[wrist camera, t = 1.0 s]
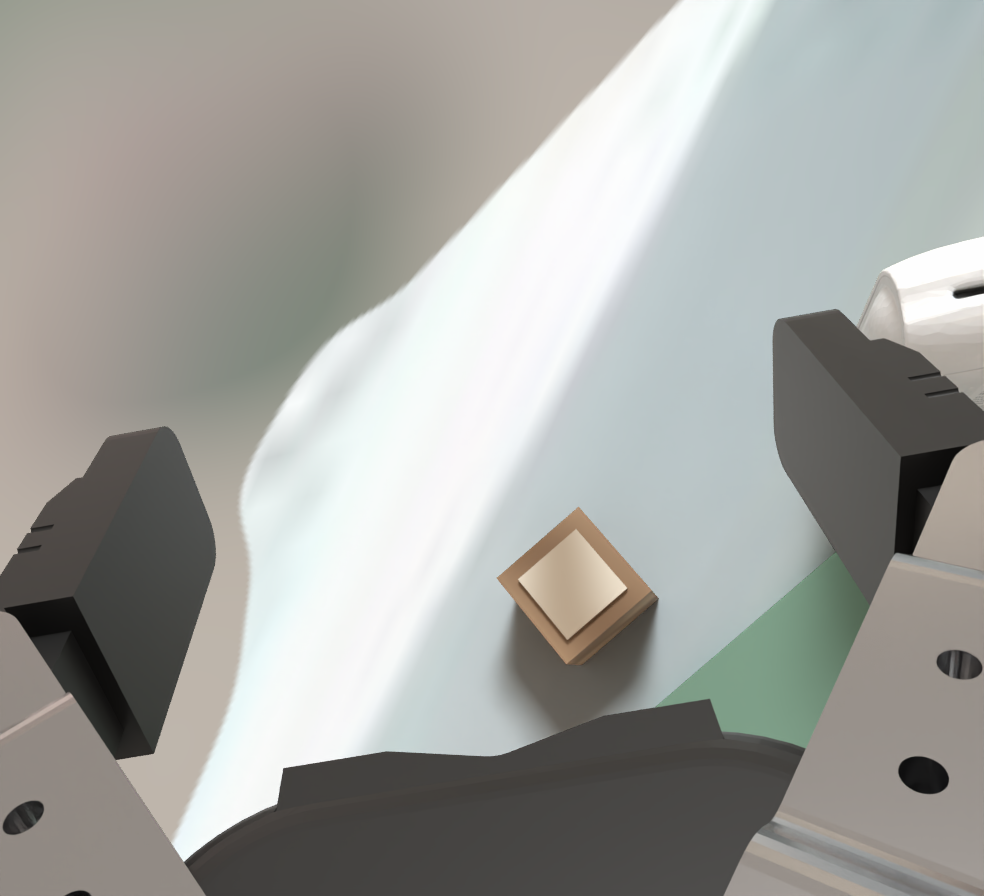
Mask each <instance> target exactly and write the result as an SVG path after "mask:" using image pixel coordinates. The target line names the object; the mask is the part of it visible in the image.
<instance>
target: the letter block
mask: <svg viewBox="0 0 984 896" xmlns="http://www.w3.org/2000/svg"><path fill="white" fill-rule="evenodd" d="M497 579H498V580H499V582H500V583H501V584H502V585H503V587H504V588H505V589H506V590H507V592H508V593H509V594H510V595H511V597H512V598H513V599H514V600H515V602H516V603H517V604H518V605H519V606H520V608H521V609H522V610H523V611H524V613H525V614H526V615H527V616H528V618H529V619H530V620H531V621H532V623H533V624H534V625H535V626H536V627H537V629H538V630H539V631H540V632H541V634H542V635H543V636H544V637H545V639H546V640H547V641H548V642H549V644H550V645H551V646H552V647H553V648H554V650H555V651H556V652H557V653H558V655H559V656H560V657H561V658H562V660H563V661H564V662H565V663H566V664H570V665H583V664H584V663H585V662H586V661H587V660H588V659H589V658H591V657H592V656H593V655H594V654H595V653H596V652H598V651H599V650H600V649H601V648H602V647H603V646H605V645H606V644H607V643H608V642H609V641H610V640H612V639H613V638H614V637H615V636H616V635H617V634H618V633H620V632H621V631H622V630H623V629H624V628H625V627H627V626H628V625H629V624H630V623H631V622H632V621H634V620H635V619H636V618H637V617H638V616H639V615H640V614H642V613H643V612H644V611H645V610H646V609H647V608H649V607H650V606H651V605H652V604H653V603H654V602H656V601H657V600H658V599H659V598H658V597H657V596H656V595H655V594H654V593H653V591H652V590H651V589H650V588H649V587H648V586H647V584H646V583H645V582H644V581H643V580H642V579H641V578H640V576H639V575H638V574H637V573H636V572H635V571H634V570H633V568H632V567H631V566H630V565H629V564H628V563H627V562H626V560H625V559H624V558H623V557H622V556H621V555H620V554H619V552H618V551H617V550H616V549H615V548H614V547H613V546H612V544H611V543H610V542H609V541H608V540H607V539H606V538H605V536H604V535H603V534H602V533H601V532H600V531H599V530H598V528H597V527H596V526H595V525H594V524H593V523H592V522H591V520H590V519H589V518H588V517H587V516H586V515H585V514H584V512H583V511H582V510H581V509H580V508H579V507H578V508H577V509H576V510H574V511H573V512H572V513H571V514H570V515H569V516H568V517H566V518H565V519H564V520H563V521H562V522H561V523H559V524H558V525H557V526H556V527H555V528H554V529H553V530H551V531H550V532H549V533H548V534H547V535H546V536H545V537H543V538H542V539H541V540H540V541H539V542H538V543H536V544H535V545H534V546H533V547H532V548H531V549H530V550H528V551H527V552H526V553H525V554H524V555H523V556H522V557H520V558H519V559H518V560H517V561H516V562H515V563H513V564H512V565H511V566H510V567H509V568H508V569H507V570H505V571H504V572H503V573H502V574H501V575H500V576H499V577H497Z"/></svg>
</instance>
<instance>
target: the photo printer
mask: <svg viewBox="0 0 984 896" xmlns="http://www.w3.org/2000/svg"><path fill="white" fill-rule="evenodd" d="M856 327H857V328H858V329H859V330H860V331H861V332H862V333H863V334H864V335H865V336H866V337H867V338H868V339H869V340H876V339H882V338H885V339H888V340H890V341H893V342H895V343H898V344H900V345H903V346H905V347H908V348H910V349H913V350H915V351H918V352H920V353H921V354H922V355H923V356H924V357H925V358H926V359H927V360H928V361H929V362H931V363H932V364H933V365H934V366H935V367H936V368H937V369H938V370H939V371H940V372H941V376H946V377H947V378H948V379H949V380H950V381H951V382H952V383H954V384H955V385H956V386H957V387H958V390H959V393H960V392H963V393H965V394H966V395H967V396H968V397H969V398H970V399H971V400H972V401H973V402H974V403H976V404H977V405H978V406H979V407H980V408H981V409H982V410H983V411H984V237H981V238H976V239H972V240H968V241H964V242H960V243H956V244H953V245H949V246H945V247H941V248H937V249H934V250H931V251H928V252H925V253H922V254H919V255H916V256H914V257H911V258H909V259H906V260H904V261H902V262H899V263H897V264H895V265H893V266H891V267H888V268H886V269H884V270H883V271H882V272H881V273H880V274H879V276H878V278H877V280H876V282H875V285H874V287H873V289H872V291H871V294H870V296H869V298H868V301H867V303H866V305H865V308H864V310H863V313H862V315H861V317H860V319H859V322H858V324H857V326H856Z"/></svg>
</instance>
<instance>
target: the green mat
mask: <svg viewBox="0 0 984 896" xmlns="http://www.w3.org/2000/svg"><path fill="white" fill-rule="evenodd" d="M869 607H870V605H869V604H868V602H867V600H866V599H865V597H864V596H863V594H862V592H861V591H860V589H859V588H858V586H857V585H856V583H855V581H854V580H853V578H852V577H851V575H850V573H849V572H848V570H847V569H846V567H845V565H844V564H843V562H842V561H841V559H840V558H839V556H838V554H837V553H836V552H835V553H834V554H833V555H832V556H831V557H829V558H828V559H827V560H826V561H825V562H824V563H823V564H821V565H820V566H819V567H818V568H817V569H816V570H814V571H813V572H812V573H811V574H810V575H809V576H807V577H806V578H805V579H804V580H803V581H802V582H800V583H799V584H798V585H797V586H796V587H795V588H793V589H792V590H791V591H790V592H789V593H788V594H786V595H785V596H784V597H783V598H782V599H781V600H779V601H778V602H777V603H776V604H775V605H774V606H772V607H771V608H770V609H769V610H768V611H767V612H765V613H764V614H763V615H762V616H761V617H760V618H758V619H757V620H756V621H755V622H754V623H753V624H752V625H750V626H749V627H748V628H747V629H746V630H745V631H743V632H742V633H741V634H740V635H739V636H738V637H736V638H735V639H734V640H733V641H732V642H731V643H729V644H728V645H727V646H726V647H725V648H724V649H722V650H721V651H720V652H719V653H718V654H717V655H715V656H714V657H713V658H712V659H711V660H710V661H708V662H707V663H706V664H705V665H704V666H703V667H701V668H700V669H699V670H698V671H697V672H696V673H694V674H693V675H692V676H691V677H690V678H689V679H687V680H686V681H685V682H684V683H683V684H682V685H680V686H679V687H678V688H677V689H676V690H675V691H674V692H672V693H671V694H670V695H669V696H668V697H667V698H665V699H664V700H663V701H662V702H661V703H660V704H658V705H657V706H656V707H662V706H668V705H674V704H680V703H686V702H692V701H698V700H704V699H710V700H711V703H712V706H713V709H714V712H715V714H716V717H717V720H718V723H719V726H720V729H721V731H723V732H739V733H745V734H752V735H758V736H764V737H768V738H772V739H776V740H780V741H784V742H788V743H792V744H795V745H798V746H800V747H803V748H806V747H807V745H808V743H809V741H810V738H811V736H812V734H813V732H814V729H815V727H816V725H817V723H818V721H819V718H820V716H821V714H822V712H823V709H824V707H825V705H826V703H827V701H828V698H829V696H830V694H831V692H832V689H833V687H834V685H835V683H836V681H837V678H838V676H839V674H840V672H841V669H842V667H843V665H844V663H845V661H846V658H847V656H848V654H849V652H850V649H851V647H852V645H853V643H854V641H855V638H856V636H857V634H858V632H859V629H860V627H861V625H862V623H863V621H864V618H865V616H866V614H867V612H868V609H869ZM656 707H655V708H656Z"/></svg>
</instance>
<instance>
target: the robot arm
mask: <svg viewBox="0 0 984 896" xmlns="http://www.w3.org/2000/svg"><path fill="white" fill-rule="evenodd" d="M773 404H774V434H775V441H776V446H777V450H778V454H779V457H780V460H781V463H782V466H783V468H784V470H785V472H786V473H787V475H788V477H789V478H790V480H791V481H792V483H793V484H794V486H795V488H796V489H797V491H798V492H799V494H800V496H801V497H802V499H803V500H804V502H805V504H806V505H807V507H808V508H809V510H810V511H811V513H812V515H813V516H814V518H815V519H816V521H817V523H818V524H819V526H820V527H821V529H822V531H823V532H824V534H825V535H826V537H827V538H828V540H829V542H830V543H831V545H832V546H833V548H834V550H835V551H836V553H837V554H838V556H839V558H840V559H841V561H842V562H843V564H844V565H845V567H846V569H847V570H848V572H849V573H850V575H851V577H852V578H853V580H854V581H855V583H856V585H857V586H858V588H859V589H860V591H861V592H862V594H863V596H864V597H865V599H866V600H867V602H868V604H869V605H870V607H869V609H868V612H867V614H866V616H865V618H864V621H863V623H862V625H861V627H860V629H859V632H858V634H857V636H856V638H855V641H854V643H853V645H852V647H851V649H850V652H849V654H848V656H847V658H846V661H845V663H844V665H843V667H842V669H841V672H840V674H839V676H838V678H837V681H836V683H835V685H834V687H833V689H832V692H831V694H830V696H829V698H828V701H827V703H826V705H825V707H824V709H823V712H822V714H821V716H820V718H819V721H818V723H817V725H816V727H815V729H814V732H813V734H812V736H811V738H810V741H809V743H808V745H807V747H806V748H803V747H800V746H798V745H795V744H792V743H788V742H784V741H780V740H776V739H772V738H768V737H764V736H758V735H752V734H745V733H739V732H723V731H721V729H720V726H719V723H718V720H717V717H716V714H715V712H714V709H713V706H712V703H711V700H710V699H704V700H698V701H692V702H686V703H680V704H674V705H668V706H662V707H656V708H650V709H643V710H637V711H631V712H625V713H619V714H613V715H607V716H603V717H600V718H597V719H595V720H592V721H590V722H587V723H584V724H582V725H579V726H577V727H574V728H571V729H569V730H566V731H564V732H561V733H558V734H556V735H553V736H551V737H548V738H545V739H543V740H540V741H538V742H535V743H532V744H530V745H527V746H524V747H522V748H519V749H517V750H514V751H511V752H509V753H506V754H503V755H498V756H465V755H446V754H426V753H407V752H381V753H375V754H368V755H362V756H356V757H350V758H344V759H338V760H332V761H326V762H320V763H313V764H307V765H301V766H295V767H289V768H283V774H282V780H281V786H280V792H279V798H278V804H277V805H274V806H272V807H269V808H267V809H264V810H262V811H260V812H258V813H256V814H254V815H252V816H250V817H248V818H246V819H244V820H242V821H240V822H239V823H237V824H235V825H234V826H232V827H231V828H229V829H227V830H226V831H224V832H222V833H221V834H219V835H218V836H216V837H215V838H214V839H212V840H211V841H210V842H208V843H207V844H205V845H204V846H203V847H201V848H200V849H199V850H197V851H196V852H195V853H194V854H193V855H191V856H190V857H189V858H188V859H187V860H186V861H185V862H183V860H182V859H181V857H180V856H179V854H178V853H177V851H176V850H175V848H174V847H173V845H172V844H171V842H170V841H169V839H168V838H167V837H166V835H165V834H164V832H163V830H162V829H161V827H160V826H159V824H158V823H157V821H156V820H155V818H154V817H153V816H152V814H151V812H150V811H149V809H148V808H147V806H146V805H145V803H144V802H143V801H142V799H141V797H140V796H139V794H138V793H137V792H136V790H135V789H134V787H133V786H132V784H131V783H130V781H129V780H128V778H127V776H126V775H125V774H124V772H123V770H122V769H121V767H120V766H119V764H118V763H117V762H116V760H119V759H125V758H131V757H137V756H143V755H149V754H154V752H155V748H156V745H157V742H158V739H159V736H160V733H161V730H162V727H163V724H164V721H165V718H166V715H167V711H168V708H169V705H170V702H171V699H172V696H173V693H174V690H175V687H176V684H177V681H178V678H179V674H180V671H181V668H182V665H183V662H184V659H185V656H186V653H187V650H188V647H189V643H190V641H191V638H192V634H193V631H194V628H195V625H196V622H197V619H198V616H199V613H200V610H201V607H202V604H203V600H204V597H205V594H206V591H207V588H208V585H209V582H210V579H211V576H212V573H213V570H214V566H215V558H216V548H215V539H214V533H213V529H212V525H211V522H210V519H209V517H208V514H207V511H206V509H205V506H204V504H203V502H202V499H201V496H200V494H199V491H198V489H197V486H196V484H195V481H194V479H193V476H192V473H191V471H190V468H189V466H188V463H187V461H186V458H185V456H184V453H183V451H182V448H181V446H180V443H179V441H178V439H177V437H176V436H175V434H174V433H173V431H172V430H171V429H169V428H168V427H165V426H164V427H159V428H154V429H147V430H142V431H136V432H131V433H125V434H119V435H114V436H109V437H108V438H107V439H106V440H105V442H104V443H103V445H102V446H101V448H100V450H99V452H98V453H97V455H96V456H95V458H94V460H93V461H92V463H91V465H90V466H89V468H88V470H87V471H86V473H85V475H84V476H83V477H82V478H77V479H75V480H74V481H72V482H71V483H70V484H69V485H68V486H67V487H65V488H64V489H63V490H62V491H61V492H60V493H58V494H57V495H56V496H55V497H54V498H52V499H51V500H50V501H49V502H47V503H46V505H45V507H44V508H43V510H42V511H41V513H40V514H39V516H38V517H37V519H36V521H35V522H34V524H33V525H32V527H31V533H28V534H27V535H26V536H25V538H24V539H23V541H22V543H21V544H20V546H19V547H18V549H17V550H18V554H15V555H13V557H12V558H11V560H10V561H9V563H8V565H7V566H6V568H5V569H4V571H3V572H2V574H1V575H0V896H984V411H983V410H982V409H981V408H980V407H979V406H978V405H977V404H976V403H974V402H973V401H972V400H971V399H970V398H969V397H968V396H967V395H966V394H965V393H963V392H960V393H959V390H958V387H957V386H956V385H955V384H954V383H952V382H951V381H950V380H949V379H948V378H947V377H946V376H941V372H940V371H939V370H938V369H937V368H936V367H935V366H934V365H933V364H932V363H931V362H929V361H928V360H927V359H926V358H925V357H924V356H923V355H922V354H921V353H920V352H918V351H915V350H913V349H910V348H908V347H905V346H903V345H900V344H898V343H895V342H893V341H890V340H888V339H885V338H882V339H876V340H869V339H868V338H867V337H866V336H865V335H864V334H863V333H862V332H861V331H860V330H859V329H858V328H857V327H856V326H855V325H854V324H853V323H852V322H851V321H850V320H849V319H848V318H847V317H846V316H845V315H844V314H843V313H842V312H840V311H839V310H837V309H833V310H827V311H821V312H816V313H810V314H805V315H799V316H793V317H788V318H782V319H778V320H777V321H776V323H775V326H774V330H773Z"/></svg>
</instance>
